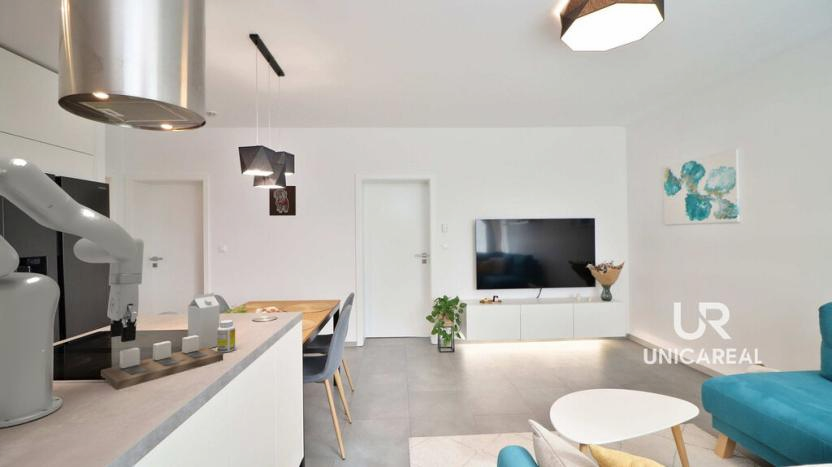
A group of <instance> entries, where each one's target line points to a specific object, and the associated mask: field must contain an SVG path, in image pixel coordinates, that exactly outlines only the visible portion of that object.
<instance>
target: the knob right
mask: <svg viewBox="0 0 832 467" xmlns="http://www.w3.org/2000/svg"><path fill="white" fill-rule="evenodd" d="M181 339H182V340H181V341H182V342H181V351H182V352H184V353H189V352H193V351H197V350H199V336H197V335H194V336H189V337H188V336H185V337H182V338H181Z"/></svg>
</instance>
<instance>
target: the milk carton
mask: <svg viewBox="0 0 832 467" xmlns="http://www.w3.org/2000/svg"><path fill="white" fill-rule="evenodd" d="M219 327H220V303H219V302H218V300H217V298H216V297H215V293H214V292H212V293H205V294H198V295H194V296H193V299H192V300H191V302H190V304H188V307H187V337H189V336H194V335H197V336H199V347H201V346H204V347H207V348H209V349H212V348H217V329H218V328H219Z"/></svg>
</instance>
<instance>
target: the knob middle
mask: <svg viewBox="0 0 832 467" xmlns="http://www.w3.org/2000/svg"><path fill="white" fill-rule="evenodd" d="M171 353H172V341H169V340H166V341H161V342H157V343H153V344H152V358H153V359H154V360H160V359H164V358H168V357H171Z"/></svg>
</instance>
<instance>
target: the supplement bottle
mask: <svg viewBox="0 0 832 467" xmlns="http://www.w3.org/2000/svg"><path fill="white" fill-rule="evenodd" d="M216 348H217V349H216V350H217V352H220V353H229V352H233V351H234V350H236V326H235V325H234V322H233V320H232V319H224V320H221V321H219V328H218V329H217V346H216Z"/></svg>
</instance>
